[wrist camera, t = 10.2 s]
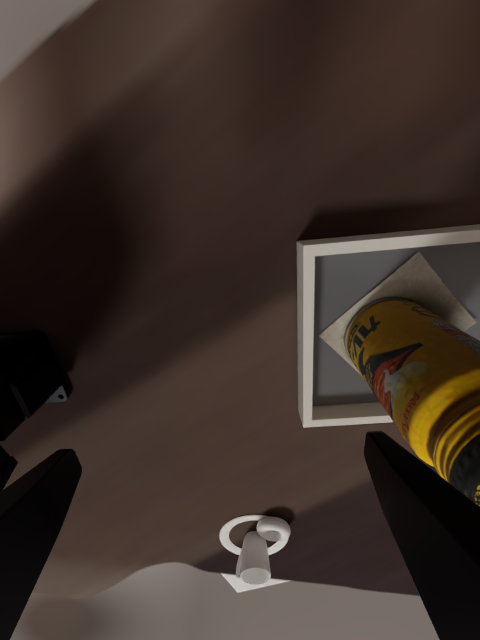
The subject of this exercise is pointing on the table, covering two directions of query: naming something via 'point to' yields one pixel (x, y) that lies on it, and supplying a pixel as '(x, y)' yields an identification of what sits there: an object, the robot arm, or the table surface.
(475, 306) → the tray
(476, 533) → the robot arm
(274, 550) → the white ring with post
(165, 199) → the table surface
